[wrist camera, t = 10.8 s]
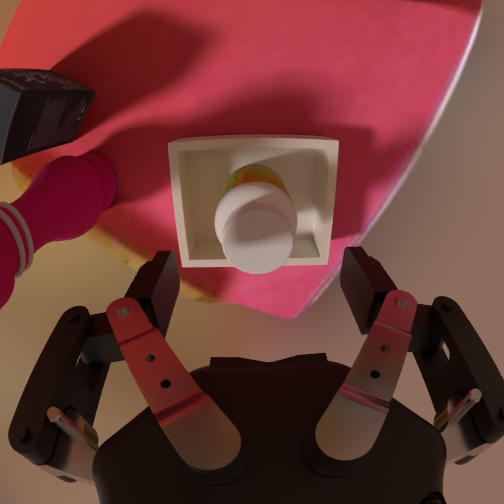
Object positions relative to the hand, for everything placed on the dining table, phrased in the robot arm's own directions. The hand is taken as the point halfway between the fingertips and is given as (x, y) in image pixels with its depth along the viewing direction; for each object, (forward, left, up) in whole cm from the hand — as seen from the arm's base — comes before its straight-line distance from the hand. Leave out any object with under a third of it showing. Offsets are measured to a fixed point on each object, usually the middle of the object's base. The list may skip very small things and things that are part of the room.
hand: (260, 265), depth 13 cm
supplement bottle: (0, 0, -13) cm, 13 cm away
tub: (0, 0, -13) cm, 13 cm away
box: (-11, -19, -13) cm, 26 cm away
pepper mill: (-2, -16, -13) cm, 21 cm away
